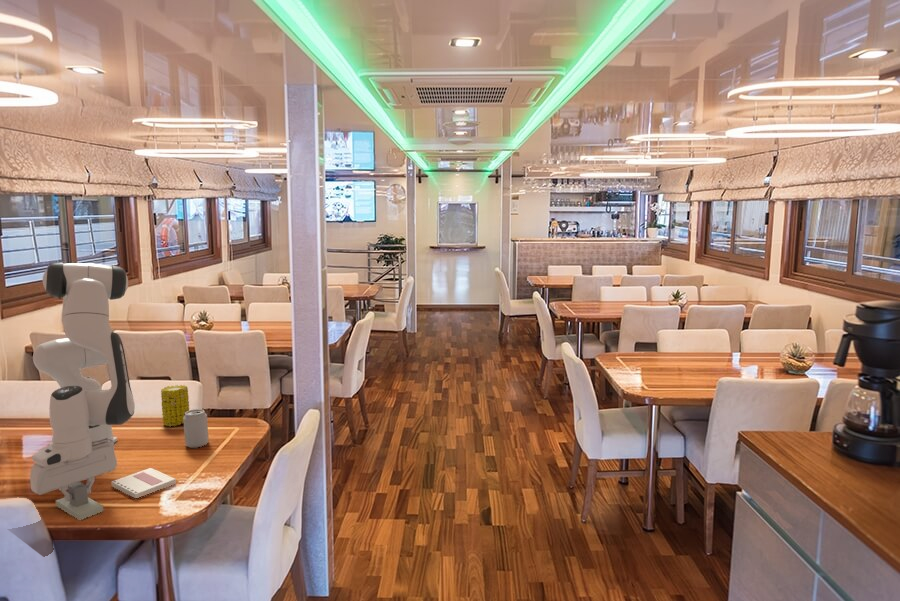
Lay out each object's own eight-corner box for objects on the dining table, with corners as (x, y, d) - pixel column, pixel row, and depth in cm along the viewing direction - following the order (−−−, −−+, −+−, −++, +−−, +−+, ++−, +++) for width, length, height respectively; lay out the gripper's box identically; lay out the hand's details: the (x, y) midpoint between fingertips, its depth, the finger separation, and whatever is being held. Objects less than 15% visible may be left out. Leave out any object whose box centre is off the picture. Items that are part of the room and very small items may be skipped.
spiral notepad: (111, 486, 177) (111, 481, 176) (151, 472, 186) (150, 467, 186) (136, 499, 169) (135, 493, 168) (175, 484, 178) (175, 478, 178)
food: (162, 432, 225) (168, 424, 235) (195, 423, 227) (199, 415, 237) (149, 394, 222) (156, 388, 232) (182, 384, 225) (187, 379, 235)
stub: (56, 505, 165) (53, 483, 164) (79, 497, 170) (77, 475, 169) (79, 520, 157) (76, 496, 156) (103, 511, 162) (101, 488, 161)
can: (212, 441, 211) (210, 408, 210) (202, 449, 204) (199, 415, 202) (192, 440, 212) (190, 407, 210) (181, 448, 205) (178, 414, 203)
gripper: (107, 433, 171) (112, 479, 173) (24, 457, 155) (30, 508, 157) (118, 438, 167) (123, 485, 169) (35, 463, 151) (41, 515, 153)
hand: (78, 496), depth 163 cm, fingers closed on stub, 3 cm apart
